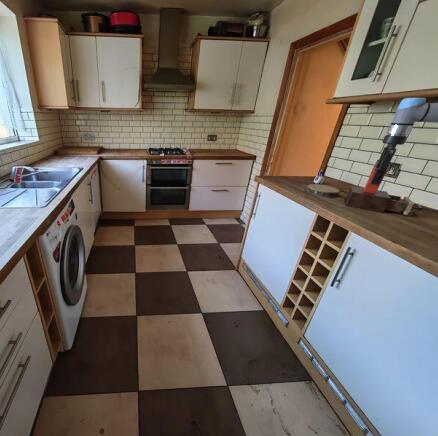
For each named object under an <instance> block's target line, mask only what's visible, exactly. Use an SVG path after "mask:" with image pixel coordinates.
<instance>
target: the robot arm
mask: <svg viewBox="0 0 438 436" xmlns="http://www.w3.org/2000/svg"><path fill="white" fill-rule="evenodd" d="M426 101H427V99H426V97H405V98H403V99H402V100H401V101H400V103H399V105H398V106H397V108H396V111H395V113H394V116H393V118H392V120H391V122H390V124H389V126H387V127H386V130H387V131H386V135H384V137H383V139H382V144H386V146H385V147H383V149H382V152H381V154H380V156H379V158H378V160H377V162H376V165H375V168H378V170H375V171H376V173H375V175H374V177H373V180H372V182H371V184H375V185H378V184H379V182H380V180H381V178H382V176H383V173H384V172H385V171H386V170H387V171H388V168H389V165H390V164H391V161H392V159H393V157H394V155H395V154H396V153H397V146H398V145H399V146H403V145H404V144H405V143H406V141H407V139H408V136H409V135H410V133H411V131H412V129H413V127H414V125H415V123H434V124H435V123H436V124H437V123H438V102H432V103H431V102H429V103H428V102H426Z"/></svg>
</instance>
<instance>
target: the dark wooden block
mask: <svg viewBox="0 0 438 436" xmlns="http://www.w3.org/2000/svg"><path fill="white" fill-rule="evenodd" d="M364 188H365V187H361V186H354V185H350V188H349V190H348V192H347V195H346V197H345V203H346V206H348V207H352V208H357V209H363V210H367V211H368V210H369V211H373V212H378V213H384V212H385V211H386V210H385V209H386V207H387V205H388V203H389V201H390V200H391V198H390V196H389V195H390V194H389V193H388V191H386V190H379V189H378V190H377V192H376V194H375V193H369V192H364Z"/></svg>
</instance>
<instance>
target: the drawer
mask: <svg viewBox="0 0 438 436" xmlns="http://www.w3.org/2000/svg"><path fill="white" fill-rule="evenodd" d="M388 195H389V196H390V198H391V200H390V201H389V203H388V205H387V207H386V209H385V211H390V212H395V213H401V212H402V214H403V215H405V216H408V215H409V213H410V212H411V210H412V209H415V210H418V211H423V209H424V208H423V207H422V206H421V205H420V204H419V203H414V202H413V201H412V200H411V199H410V197H408V196H404V197H403V199H402V196H400V195H394V194H388ZM401 199H402V200H401Z"/></svg>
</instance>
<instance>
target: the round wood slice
mask: <svg viewBox="0 0 438 436" xmlns="http://www.w3.org/2000/svg"><path fill="white" fill-rule="evenodd" d="M306 192H307V193H309V194H311V195H315V196H318V197H323V198H324V197H325V198H336V197H338V196H339V193H340V189H339V188H337V187H334V186H330V185H325V184H318V183H317V184H316V183H310V184H308V185H307V187H306Z"/></svg>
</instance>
